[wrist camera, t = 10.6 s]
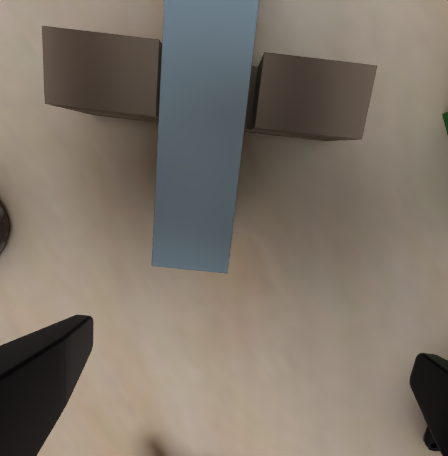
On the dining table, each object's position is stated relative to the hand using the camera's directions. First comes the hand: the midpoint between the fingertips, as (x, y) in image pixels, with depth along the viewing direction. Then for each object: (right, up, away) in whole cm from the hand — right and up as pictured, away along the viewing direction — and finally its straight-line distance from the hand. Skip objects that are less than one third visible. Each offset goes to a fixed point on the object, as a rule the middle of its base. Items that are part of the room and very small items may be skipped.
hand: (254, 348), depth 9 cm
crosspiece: (-1, +10, +10) cm, 14 cm away
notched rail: (-1, +11, +10) cm, 14 cm away
